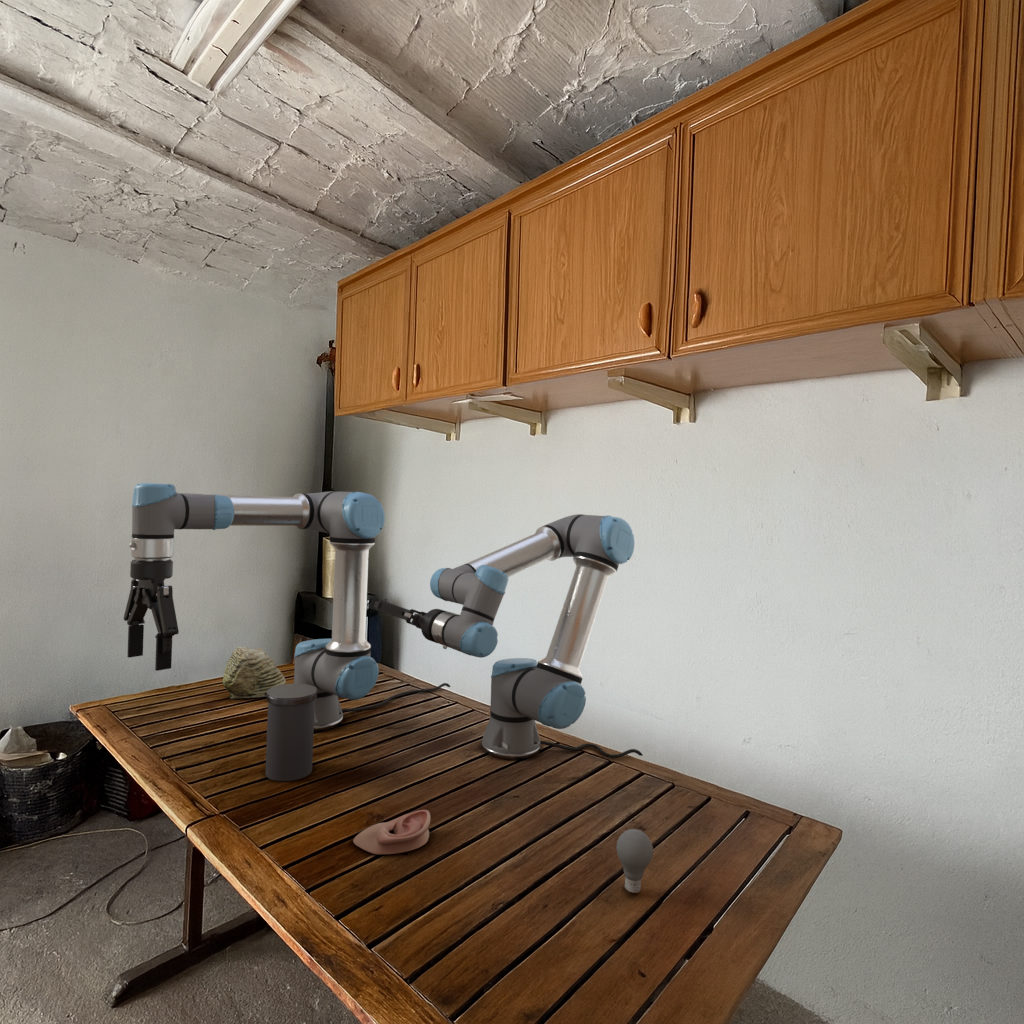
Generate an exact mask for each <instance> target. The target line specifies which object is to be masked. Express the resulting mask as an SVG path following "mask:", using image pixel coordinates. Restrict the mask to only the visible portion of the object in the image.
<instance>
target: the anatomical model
mask: <svg viewBox="0 0 1024 1024" xmlns="http://www.w3.org/2000/svg"><path fill="white" fill-rule="evenodd" d="M430 824H431V813H430V811H429V810H428V809H420V810H419V809H418V810H416V811H412V812H409V813H405V814H403V815H401V816H398V817H396V818H394V819H391V820H389V821H385V822H378V823H375V824H373V825H370V826H369V827H367V828H365V829H364V830H362V831H360V832H359V833H358V834H357V835H355V837H354V838H353V839H352V842H353V844H354V845H355V846H356V847H358V848H360V849H362V850H363V851H365V852H368V853H369V854H374V855H378V856H379V855H393V854H400V853H402V854H403V853H406V852H410V851H413V850H417V849H419V848H421V847H422V846H424V845H426V844H427V842H428V841H429V838H430V830H429V827H430Z"/></svg>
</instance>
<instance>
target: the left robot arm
mask: <svg viewBox="0 0 1024 1024" xmlns="http://www.w3.org/2000/svg"><path fill="white" fill-rule="evenodd" d="M385 515H386V513H385V511H384V508H383V505H382V503H381V502H380V501H379V500H378V498H377V497H375V495H373V494H370V493H367V492H363V491H362V492H361V491H337V490H336V491H335V490H333V491H332V490H330V491H321V492H311V493H295V494H294V495H293V496H276V495H275V496H274V495H273V496H272V495H248V494H247V495H246V494H244V495H243V494H220V493H219V494H218V493H217V494H216V493H215V494H214V493H189V492H187V493H186V492H177V491H176V486H175V485H174V484H173V483H152V482H139V483H137V484H136V485H135V486H134V488H133V492H132V501H131V520H132V521H131V542H130V543H128V547H129V548H130V549H131V550H130V556H131V558H133V559H132V560H131V561H130V567H129V568H130V571H129V574H130V575H129V576H130V578H131V581H130V590H129V594H128V598H127V603H126V607H125V610H124V615H123V621H124V622H126V624H127V626H128V629H127V630H128V631H127V658H135V657H142V656H144V635H145V634H144V630H145V625H144V624H145V623H146V621H145V619H144V618H145V616H146V615H147V612H148V609H149V610H151V613H152V618H153V620H154V624H155V627H156V631H157V633H156V635H155V636H154V638H155V661H154V663H155V665H154V668H155V669H154V670H155V671H157V672H159V671H164V670H169V669H172V659H173V657H172V655H173V637H175V636H176V635H179V632H180V631H179V625H178V619H177V615H176V614H177V613H176V609H175V603H174V597H173V595H174V593H173V585H165V580H167V579H171V578H172V577H173V575H174V573H173V572H174V561H173V560H172V559H171V558H173V557H174V554H175V553H174V552H175V530H213V531H215V530H224V529H228V528H230V526H233V527H234V526H237V527H238V526H240V527H243V526H246V527H247V526H249V527H250V526H258V527H259V526H268V527H269V526H276V527H277V526H282V527H284V526H285V527H286V526H287V527H288V526H289V527H290V526H291V527H293V528H294V529H296V530H308V531H309V530H310V531H316V532H319V533H325V534H329V544H330V545H331V546H332V547H333V548H334V550H335V551H334V572H333V573H334V577H333V599H332V625H331V626H332V627H331V638H317V639H308V640H304V641H300V642H299V643H297V645H296V646H295V650H294V655H293V657H294V672H293V673H294V674H293V684H308V685H312V686H314V687H316V688H317V697H316V699H315V709H314V733H316V732H325V731H329V730H332V729H335V728H337V727H339V726H340V725H342V723H343V722H344V714H343V712H345V713H346V712H358V711H359V712H360V711H367V710H371V709H375V708H379V707H381V706H384V705H385V704H387V703H388V702H390V701H392V700H394V699H397V698H398V697H402V696H405V695H410V694H415V693H416V694H417V693H427V692H434V691H437V690H439V689H441V688H443V687H447V688H451V685H450V684H449V683H447V682H443V683H441V684H439V685H438V686H436V687H433V688H422V689H421V688H420V689H413V690H412V689H411V690H407V691H403V692H400V693H396V694H394V695H391V696H389V697H388V698H386V699H385V700H383V701H382V702H379V703H376V704H373V705H367V706H362V707H353V708H342V706H341V702H340V699H339V698H341V699H342V700H343V699H344V700H348V701H349V700H350V701H357V700H360V699H362V698H364V697H365V696H367V695H368V694H370V692H371V690H372V689H374V687H375V685H376V683H377V682H378V678H379V674H380V672H379V671H380V670H379V669H380V668H379V665H378V663H377V662H376V660H375V659H374V657H371V652H372V649H371V648H372V644H371V643H370V642H368V640H367V639H366V631H367V607H368V606H367V605H368V604H367V602H368V582H369V581H368V579H369V555H370V553H369V552H370V550H371V548H372V547H374V545H375V544H376V536H378V535H379V534H380V533H381V530H383V528H384V526H385V522H386V521H385V520H386V516H385Z"/></svg>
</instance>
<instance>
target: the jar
mask: <svg viewBox="0 0 1024 1024" xmlns="http://www.w3.org/2000/svg"><path fill="white" fill-rule="evenodd" d="M314 709H315V700H313V701H311V702H309V703H305V704H300V705H291V706H283V705H275V704H271V703H269V702H267V718H266V719H267V723H266V746H265V747H266V748H265V750H266V751H265V772H264V773H265V777H266V778H267V779H269V780H272V781H276V782H292V781H297V780H301V779H303V778H306V777H307V776H310V774H311V773H313V761H314V760H313V759H314V758H313V757H314V733H315V732H314Z"/></svg>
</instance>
